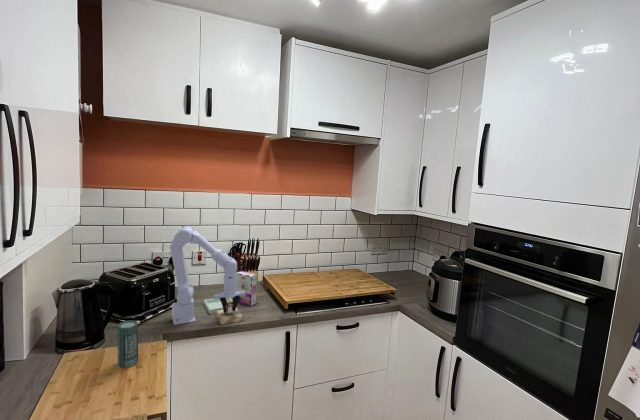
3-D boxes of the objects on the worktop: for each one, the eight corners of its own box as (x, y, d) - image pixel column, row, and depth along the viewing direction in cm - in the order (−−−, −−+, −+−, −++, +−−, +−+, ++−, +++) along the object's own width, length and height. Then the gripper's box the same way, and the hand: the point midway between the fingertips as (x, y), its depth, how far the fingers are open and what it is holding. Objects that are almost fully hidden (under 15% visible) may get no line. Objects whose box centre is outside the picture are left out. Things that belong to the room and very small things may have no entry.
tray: (209, 314, 168) (209, 309, 168) (204, 304, 179) (204, 299, 179) (236, 310, 175) (236, 305, 174) (229, 300, 186) (229, 296, 186)
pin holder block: (221, 324, 159) (221, 319, 159) (216, 315, 167) (216, 310, 167) (242, 320, 164) (242, 315, 164) (236, 312, 172) (236, 307, 172)
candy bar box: (256, 303, 185) (257, 274, 183) (250, 306, 180) (251, 276, 178) (240, 298, 190) (241, 270, 188) (234, 301, 185) (235, 272, 183)
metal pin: (226, 320, 163) (226, 305, 162) (223, 317, 166) (224, 301, 165) (234, 319, 165) (234, 303, 164) (232, 315, 168) (232, 300, 167)
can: (133, 356, 129) (133, 318, 128) (140, 363, 126) (140, 324, 124) (115, 362, 125) (115, 324, 123) (122, 370, 121) (122, 330, 119)
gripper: (216, 289, 156) (216, 317, 158) (247, 285, 164) (246, 312, 165) (213, 284, 162) (212, 311, 164) (243, 280, 170) (242, 306, 171)
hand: (229, 311), depth 165 cm, fingers closed on metal pin, 4 cm apart
